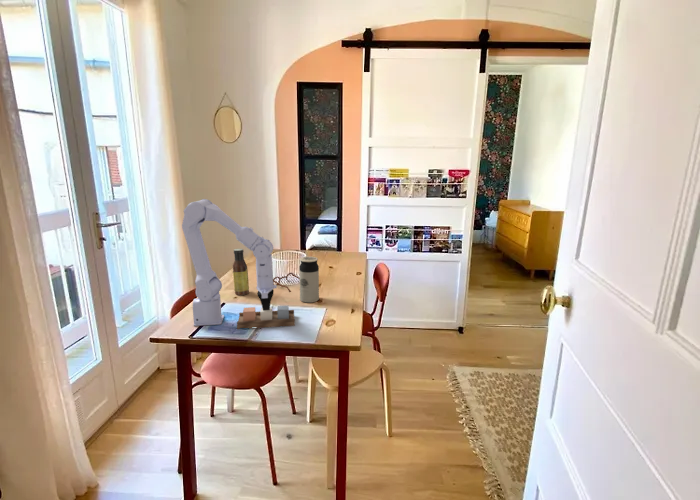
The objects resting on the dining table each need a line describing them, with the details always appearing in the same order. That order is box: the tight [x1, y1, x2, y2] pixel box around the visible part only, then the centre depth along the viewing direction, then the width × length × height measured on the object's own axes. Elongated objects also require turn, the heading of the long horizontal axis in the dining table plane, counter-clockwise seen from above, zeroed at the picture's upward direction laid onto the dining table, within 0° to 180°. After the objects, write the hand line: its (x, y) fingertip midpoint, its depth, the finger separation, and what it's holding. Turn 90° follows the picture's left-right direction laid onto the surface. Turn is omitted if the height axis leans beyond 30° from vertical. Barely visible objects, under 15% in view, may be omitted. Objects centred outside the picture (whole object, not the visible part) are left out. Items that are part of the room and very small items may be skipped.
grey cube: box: [276, 305, 290, 319], centre depth 143 cm, size 4×4×4 cm
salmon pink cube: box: [242, 306, 257, 321], centre depth 141 cm, size 4×4×4 cm
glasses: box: [273, 272, 300, 293], centre depth 183 cm, size 13×13×5 cm
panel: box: [236, 309, 296, 330], centre depth 143 cm, size 20×9×2 cm, turn 100°
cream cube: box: [259, 306, 273, 320], centre depth 142 cm, size 4×4×4 cm
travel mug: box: [298, 256, 320, 304], centre depth 164 cm, size 8×8×18 cm
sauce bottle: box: [232, 248, 250, 296], centre depth 170 cm, size 6×6×20 cm
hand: (266, 310), depth 142 cm, fingers closed, pressing on cream cube
